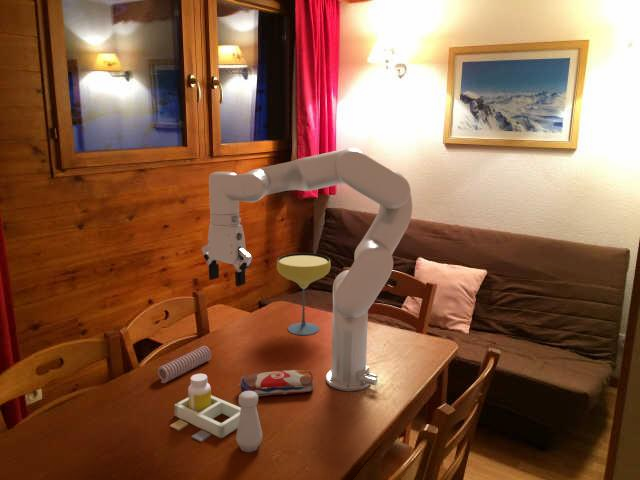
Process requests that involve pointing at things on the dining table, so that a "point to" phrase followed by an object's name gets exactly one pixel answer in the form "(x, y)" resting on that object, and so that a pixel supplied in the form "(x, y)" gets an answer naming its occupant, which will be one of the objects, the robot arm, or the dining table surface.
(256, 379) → the pencil case
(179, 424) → the brass tag
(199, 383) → the supplement bottle
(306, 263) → the cocktail glass
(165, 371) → the coil
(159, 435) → the dining table surface
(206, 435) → the slate tag
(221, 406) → the socket block
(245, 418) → the salt shaker
